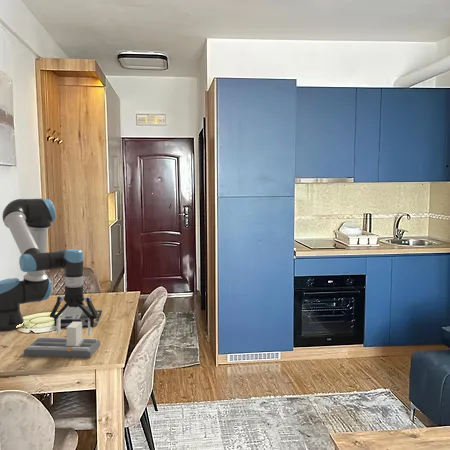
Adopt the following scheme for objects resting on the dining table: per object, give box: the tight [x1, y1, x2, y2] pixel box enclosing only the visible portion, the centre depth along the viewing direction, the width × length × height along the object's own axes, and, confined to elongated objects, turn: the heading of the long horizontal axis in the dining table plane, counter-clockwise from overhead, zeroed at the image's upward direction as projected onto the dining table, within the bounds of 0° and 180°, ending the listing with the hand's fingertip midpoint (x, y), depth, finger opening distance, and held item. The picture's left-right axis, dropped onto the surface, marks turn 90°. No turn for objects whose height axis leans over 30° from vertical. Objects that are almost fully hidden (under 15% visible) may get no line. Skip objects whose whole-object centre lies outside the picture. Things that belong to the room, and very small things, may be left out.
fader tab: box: [64, 322, 84, 347], centre depth 196 cm, size 6×8×9 cm
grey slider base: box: [23, 336, 101, 359], centre depth 197 cm, size 28×14×4 cm, turn 89°
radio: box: [59, 305, 103, 329], centre depth 239 cm, size 24×5×20 cm
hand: (74, 333), depth 196 cm, fingers open, 13 cm apart
